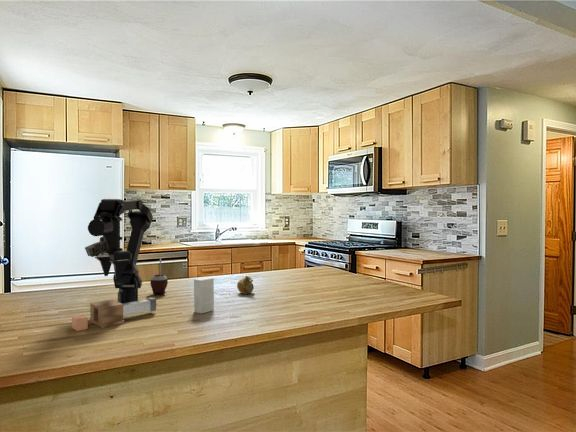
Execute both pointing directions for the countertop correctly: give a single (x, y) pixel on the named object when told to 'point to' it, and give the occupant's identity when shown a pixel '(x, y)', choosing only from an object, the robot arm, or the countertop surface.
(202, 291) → the skincare box
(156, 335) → the countertop surface
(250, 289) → the onion
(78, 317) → the block
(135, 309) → the shaft
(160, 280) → the mate gourd
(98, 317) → the block
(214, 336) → the countertop surface
